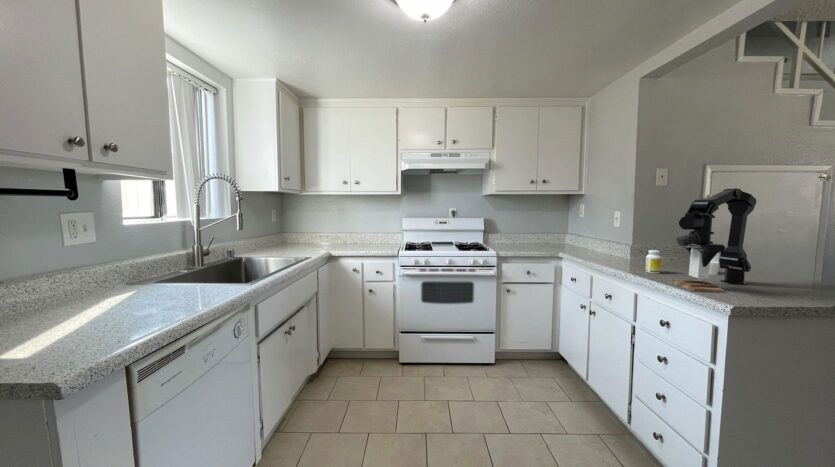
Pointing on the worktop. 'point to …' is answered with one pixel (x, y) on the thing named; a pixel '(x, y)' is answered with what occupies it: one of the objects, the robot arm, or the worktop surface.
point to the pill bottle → (653, 262)
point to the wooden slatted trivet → (699, 286)
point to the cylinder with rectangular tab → (714, 265)
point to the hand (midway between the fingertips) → (699, 265)
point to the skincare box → (698, 265)
